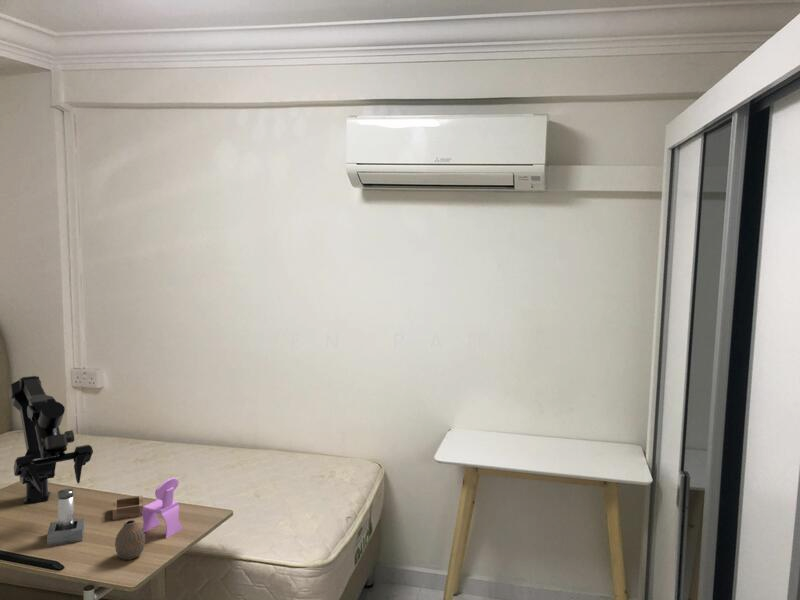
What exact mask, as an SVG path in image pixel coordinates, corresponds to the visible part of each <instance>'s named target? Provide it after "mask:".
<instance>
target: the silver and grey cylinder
mask: <svg viewBox="0 0 800 600" xmlns="http://www.w3.org/2000/svg"><path fill="white" fill-rule="evenodd" d="M74 505H75V503H74V489H73V488H64V489H61V490H59V491H57V518H58V519H57V522H58V526H59V531H61V530H68V529H74V519H75V511H74V510H75V509H74V508H75V507H74Z"/></svg>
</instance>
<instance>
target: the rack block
mask: <svg viewBox="0 0 800 600" xmlns="http://www.w3.org/2000/svg"><path fill="white" fill-rule="evenodd" d="M143 497H144V496H143V495H138V496H137V495H136V496H128V497H122V498H115V499H113V500H112V521H115V520H121V519H122V518H123V519H129V518H128V517H130V518H135V516H137V517H143V515H142V510H143V506H144V498H143Z"/></svg>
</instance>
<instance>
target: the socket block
mask: <svg viewBox="0 0 800 600" xmlns="http://www.w3.org/2000/svg"><path fill="white" fill-rule="evenodd" d="M84 532H85V517H79V518H74V529H68V530H61V531H59V526H58V521H53V522H52V521H51V522H50V523H49V528H48V530H47V533H46V534H47V535H46V539H47V540H46V542H47V544H46V545H47V547H51V546H58V545H65V544H69V542H71V543H77V542H82V541H83V540H84V539H83V538H84V534H85V533H84ZM64 543H65V544H64Z"/></svg>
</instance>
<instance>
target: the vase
mask: <svg viewBox="0 0 800 600" xmlns="http://www.w3.org/2000/svg"><path fill="white" fill-rule="evenodd" d="M145 546H146V535H145V533H144V532H143V528H141V527H140V526H139V525H138V524H137V522H136V521H135V520H133V519H129V520H126V521H125V522H124V524H123V526H122V527H121V528H120V530H119V531H118V533H117V534H116V537H115V541H114V548H115V553H116V554H117V556H118V557H119V558H120V559H122V560H125V561H129V560H130V561H131V560H133V559H136V558H138V557H139V556H141V554H142V553H143V551H144V549H145Z"/></svg>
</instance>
